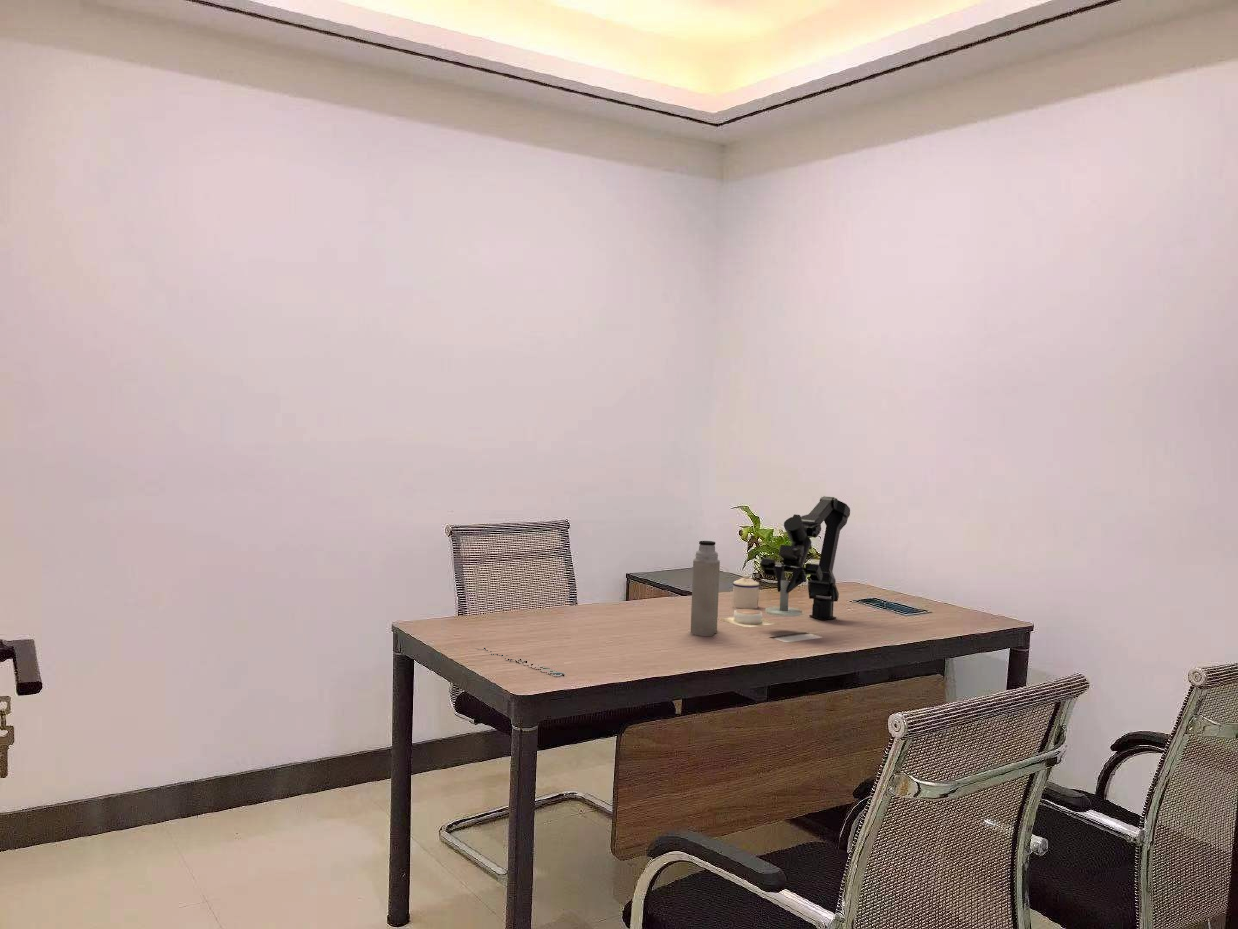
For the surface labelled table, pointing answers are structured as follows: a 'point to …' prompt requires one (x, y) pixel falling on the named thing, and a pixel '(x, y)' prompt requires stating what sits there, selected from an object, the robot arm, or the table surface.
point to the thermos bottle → (705, 590)
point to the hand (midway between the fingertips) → (782, 591)
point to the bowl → (748, 616)
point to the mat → (795, 637)
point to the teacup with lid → (745, 593)
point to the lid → (783, 604)
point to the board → (731, 620)
